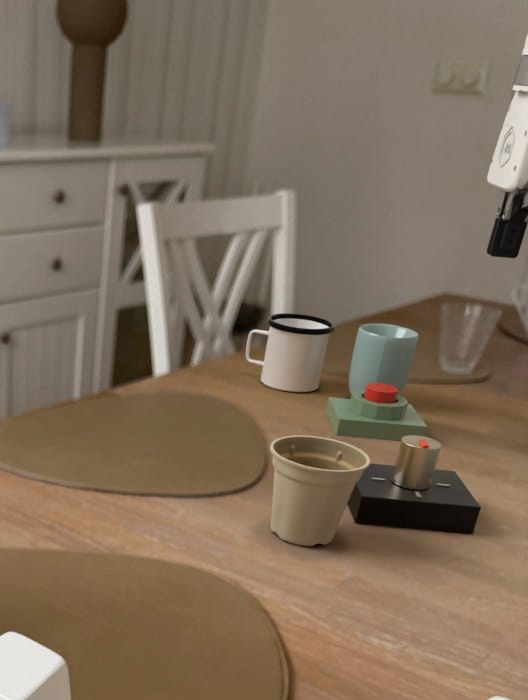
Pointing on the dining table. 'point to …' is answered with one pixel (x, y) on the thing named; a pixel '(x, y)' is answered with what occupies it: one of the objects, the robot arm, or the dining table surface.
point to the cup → (382, 356)
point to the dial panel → (413, 502)
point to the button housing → (374, 418)
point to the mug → (293, 351)
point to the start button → (381, 393)
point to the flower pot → (312, 486)
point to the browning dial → (416, 462)
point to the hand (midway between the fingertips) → (501, 255)
